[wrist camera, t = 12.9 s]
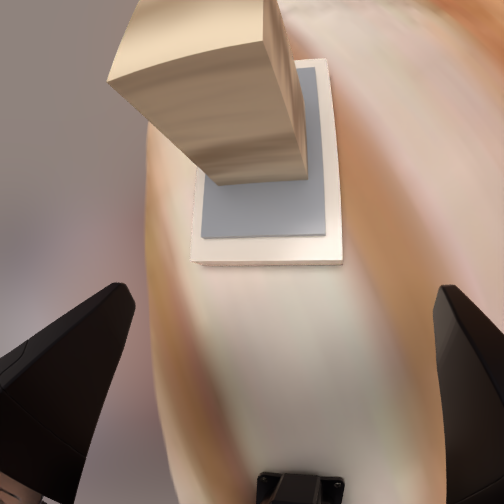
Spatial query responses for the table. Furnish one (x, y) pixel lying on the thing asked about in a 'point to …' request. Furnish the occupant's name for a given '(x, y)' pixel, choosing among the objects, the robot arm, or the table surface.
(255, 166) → the birch pillar
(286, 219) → the pedestal
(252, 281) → the table surface
